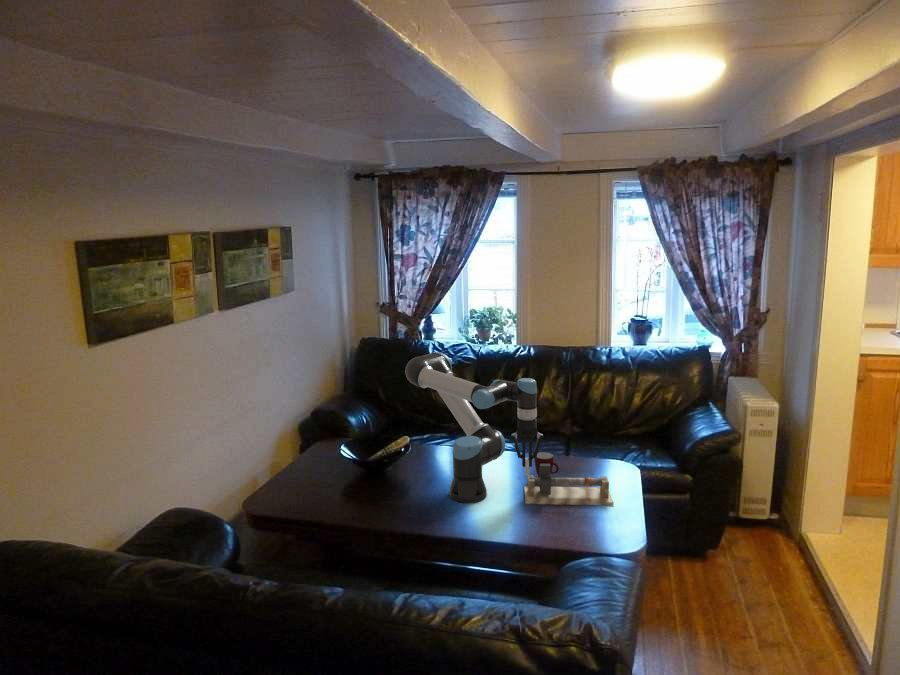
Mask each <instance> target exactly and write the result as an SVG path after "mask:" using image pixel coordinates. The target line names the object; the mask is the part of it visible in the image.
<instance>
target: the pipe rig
mask: <svg viewBox="0 0 900 675" xmlns="http://www.w3.org/2000/svg"><path fill="white" fill-rule="evenodd" d="M539 485H540V477H539V476H537V477H536V476H535V475H533V474H531V475H530V474H529V476H527V486H525V485H524V488H523V489H524V500H525V504H526V505H568V506H570V505H572V506H573V505H574V506H575V505H579V506H580V505H581V506H614V500H613V497H612V495H611V492H610V490H609V488H610V481H609V479H608V476H605V475H601V476H600V477H586V476H585V477H551V495H540V487H539Z"/></svg>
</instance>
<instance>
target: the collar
mask: <svg viewBox="0 0 900 675" xmlns="http://www.w3.org/2000/svg"><path fill="white" fill-rule="evenodd" d="M551 475H552V474H550V464H540V468H539V476H538V477H540V485H538V486H539V487H540V495H551V487H552V485H551V478H552V476H551Z"/></svg>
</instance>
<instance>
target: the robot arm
mask: <svg viewBox="0 0 900 675" xmlns="http://www.w3.org/2000/svg"><path fill="white" fill-rule="evenodd" d="M452 370H453V366H452V360H451V359H450V358H449V356H448V355H447V354H445V353H443V352H441V351H436V352H430V353H428V354H423V355H420V356H415V357H414V358H412V359H410V360H409V361H408V362H407V363H406V366H405V370H404V372H405V376H406V378H407V381H409V382H410V384H412V385H414V386H416V387H419V388H422V389H426V388H428V389H429V388H430V389H433V390H435V391H437V393H438V395H439V397H441V399H442V400H443V402H444V403H445V405H446V406H447V408H448V410H449V411H450V412H451V414H452V415H453V416H454V417H453V418H455V419H456V421H457V423H458V424H459V426H460V427H461V429H462V430H463V432H464V433H465V434H466V436H461V437H459V438H457V439H456V440H455V441H454V443H453V445H452V465H453V466H452V470H453V471H452V472H453V478H452V481H451V483H450V487H449V491H448V492H449V497H450V499H451V500H453V501H456V502H458V503H463V504H466V503H467V504H470V503H472V504H473V503H479V502H480V501H483V500H484V499H486V498H487V496H488V494H487V487H486V484H485V480H484V478H483V466H485V465H486V464H489V463H491V462H493V461H495V460H497V459H498V458H500V457H501V456H502V455H503V454H504V453H505V450H506V439H505V437H504V435H503V434H502V432H501V431H499V430H496V429H492V427H491V426H490V424H488V423H484V422H483V421H482V419H481V418H480V416H479V415H478V414H477V412H476V410H475V409H474V408H473V406H474V407H476V409H478V410H485V409H489V408H491V407H493V406H496V405H498V404H501V403H503V402H505V401H510V402H515V403H517V404H516V406H517V428H516V430H515V431H516V432H514V433H511V435H510V438H511V439H512V441H513V444H514V446H515V451H516V455H517V458H518V459H521V461H522V462H521V464H522V467H523V468H524V474H525V475H524V476H527V477H528V476H529V475H530V468H531V467H532V466H533V459H535V458H536V457H537V453H539V449H540V445H541V441H542V440H543V439H544V434H543V433H540V432H539V431H538V430H539V429H537V427H538V426H537V425H538V424H537V423H538V422H537V416H538V409H537V408H538V407H537V405H538V404H537V402H538V401H537V397H538V396H537V394H538V387H537V381H536V380H535V379H534V378H530V377H528V378H527V377H523V378H519V379H518V380H517V381H515V382H514V381H509V380H505V379H494V380H493V381H492V383H491V384H490V386H485V385H482V384H479V383H476V382H472V381H469V380H467V379H463V378H460V377H456V376H454V372H453V371H452ZM470 402H471V403H472V404H473V406H472V405H471V403H470ZM518 438H520V440H521V441H522V442H521V448H522V449H521V451H520V447H519V442H518ZM535 438H537V439H536V443H535V447H534V451H533V440H534V439H535ZM526 442H528V457H526ZM521 452H522V453H521Z"/></svg>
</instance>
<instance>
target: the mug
mask: <svg viewBox="0 0 900 675" xmlns="http://www.w3.org/2000/svg"><path fill="white" fill-rule="evenodd" d="M554 459H555V458H554V454H552V453H550V452H545V451H544V452H543V451H541V452H538V453H537V457H536V458H534V466H535V471H536V474H537V477H539V468H540V464H550V474H551V475H552V474H553V475H554V474H557V473H559V470H560V468H559V465H558V463H556V462H555V461H554ZM553 466H555V467H556V469H555V471H553Z"/></svg>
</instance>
